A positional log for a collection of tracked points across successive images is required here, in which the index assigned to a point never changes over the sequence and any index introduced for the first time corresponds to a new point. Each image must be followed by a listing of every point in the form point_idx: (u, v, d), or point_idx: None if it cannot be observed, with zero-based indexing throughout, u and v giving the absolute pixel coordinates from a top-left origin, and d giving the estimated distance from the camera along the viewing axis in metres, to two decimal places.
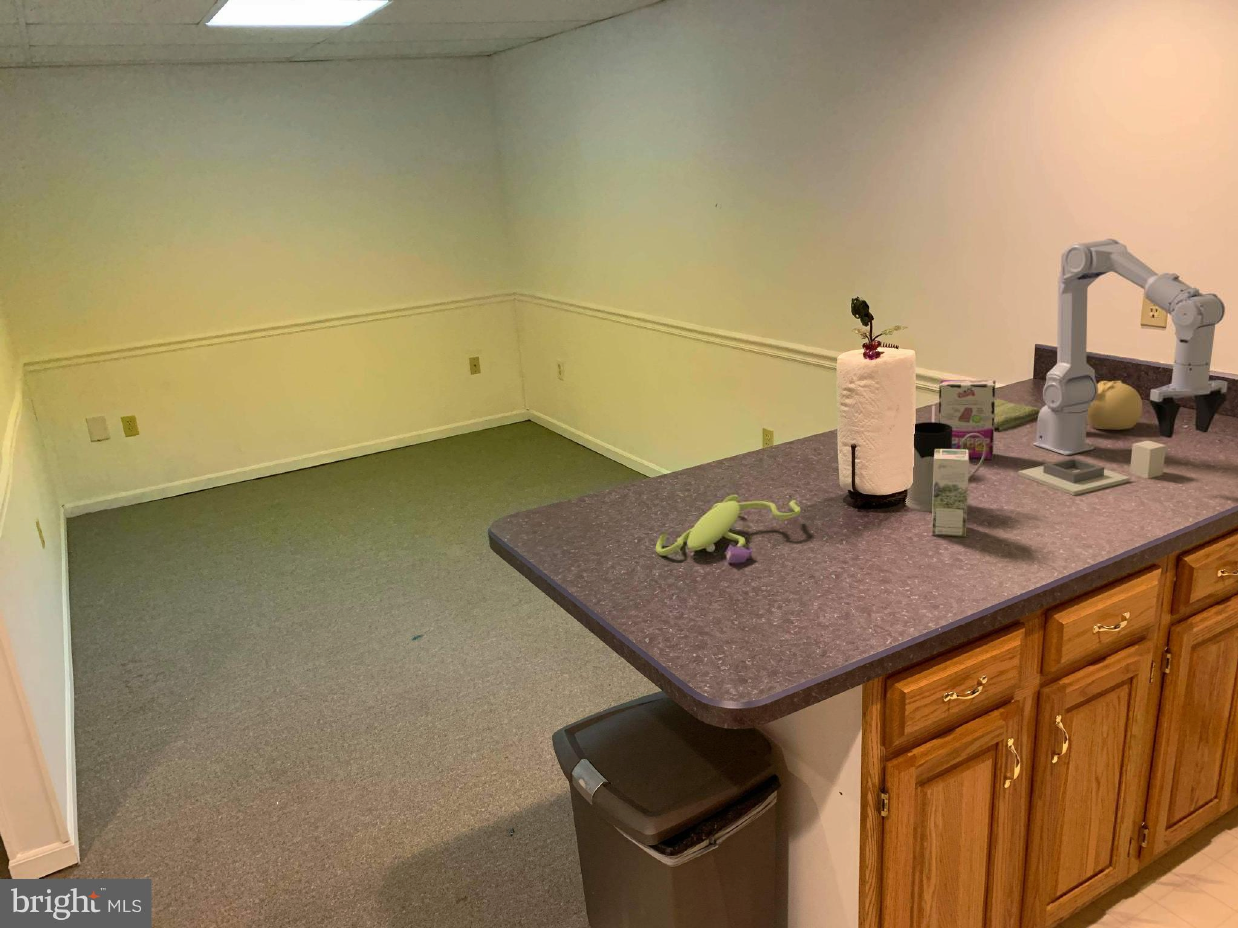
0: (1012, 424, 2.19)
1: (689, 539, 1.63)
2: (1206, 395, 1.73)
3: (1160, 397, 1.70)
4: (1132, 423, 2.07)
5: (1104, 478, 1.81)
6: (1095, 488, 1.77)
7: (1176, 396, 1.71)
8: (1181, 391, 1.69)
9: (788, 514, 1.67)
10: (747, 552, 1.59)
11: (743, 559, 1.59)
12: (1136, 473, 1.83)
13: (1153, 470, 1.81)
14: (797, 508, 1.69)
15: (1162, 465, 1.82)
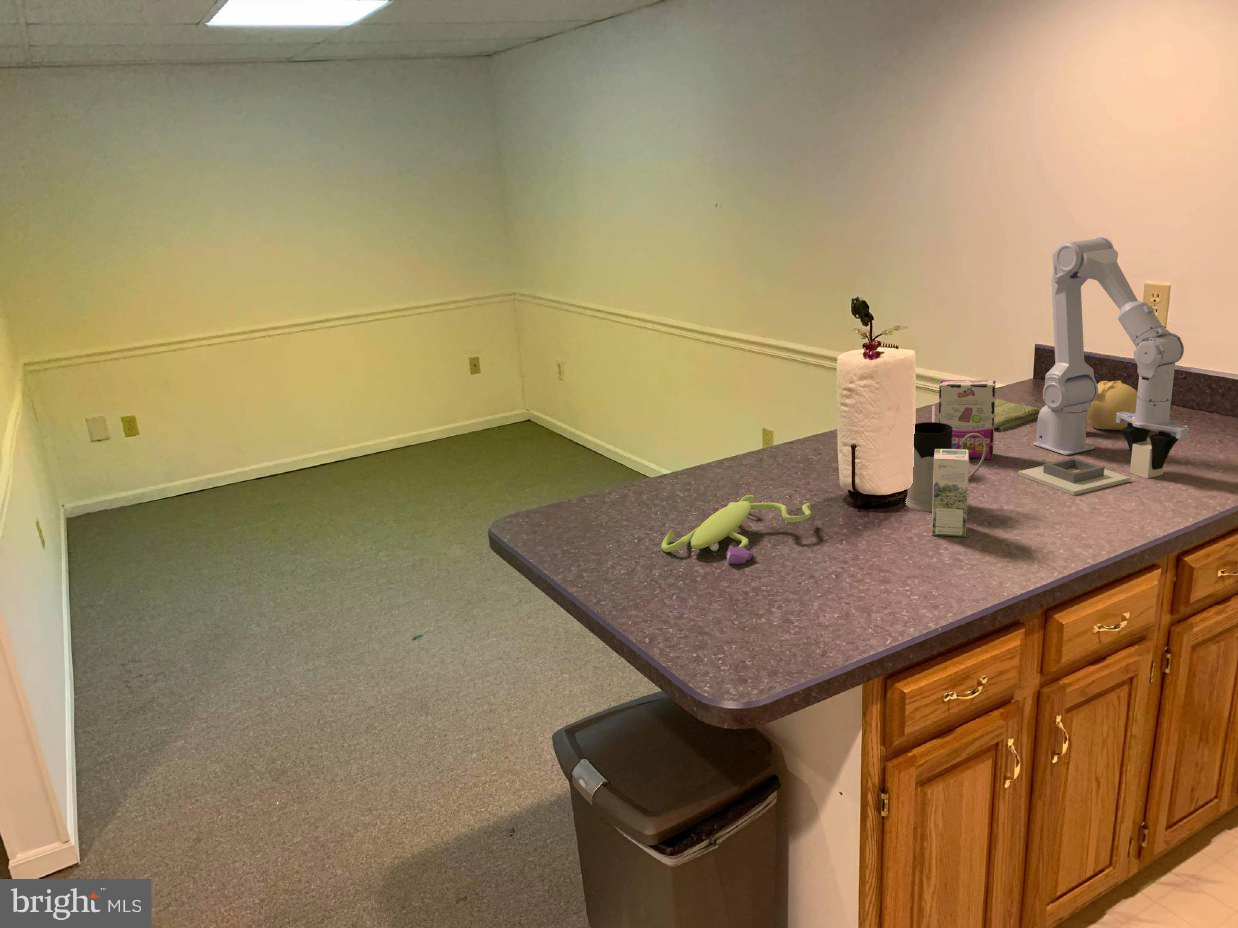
0: (1013, 424, 2.19)
1: (693, 537, 1.64)
2: None
3: (1117, 418, 1.86)
4: None
5: (1104, 478, 1.81)
6: (1095, 488, 1.77)
7: None
8: (1128, 418, 1.83)
9: (796, 517, 1.65)
10: (747, 553, 1.58)
11: (743, 560, 1.58)
12: (1136, 473, 1.83)
13: (1153, 469, 1.81)
14: (807, 511, 1.67)
15: None
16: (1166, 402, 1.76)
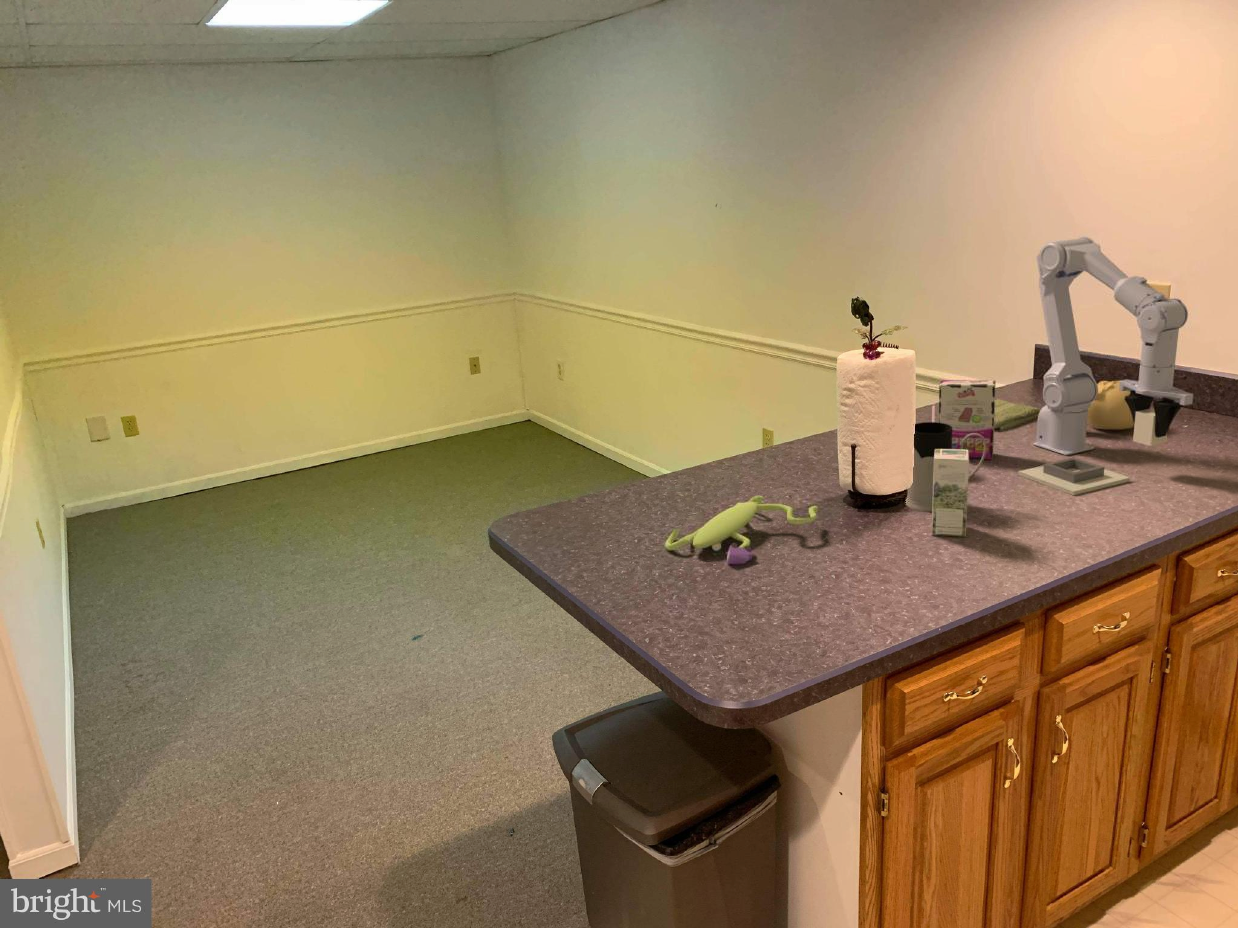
0: (1013, 424, 2.19)
1: (695, 536, 1.64)
2: None
3: (1120, 386, 1.84)
4: (1132, 423, 2.07)
5: (1104, 478, 1.81)
6: (1095, 488, 1.77)
7: None
8: (1132, 386, 1.81)
9: (801, 519, 1.64)
10: (747, 554, 1.58)
11: (742, 561, 1.58)
12: (1139, 441, 1.81)
13: (1157, 437, 1.79)
14: (813, 514, 1.66)
15: None
16: (1170, 368, 1.74)
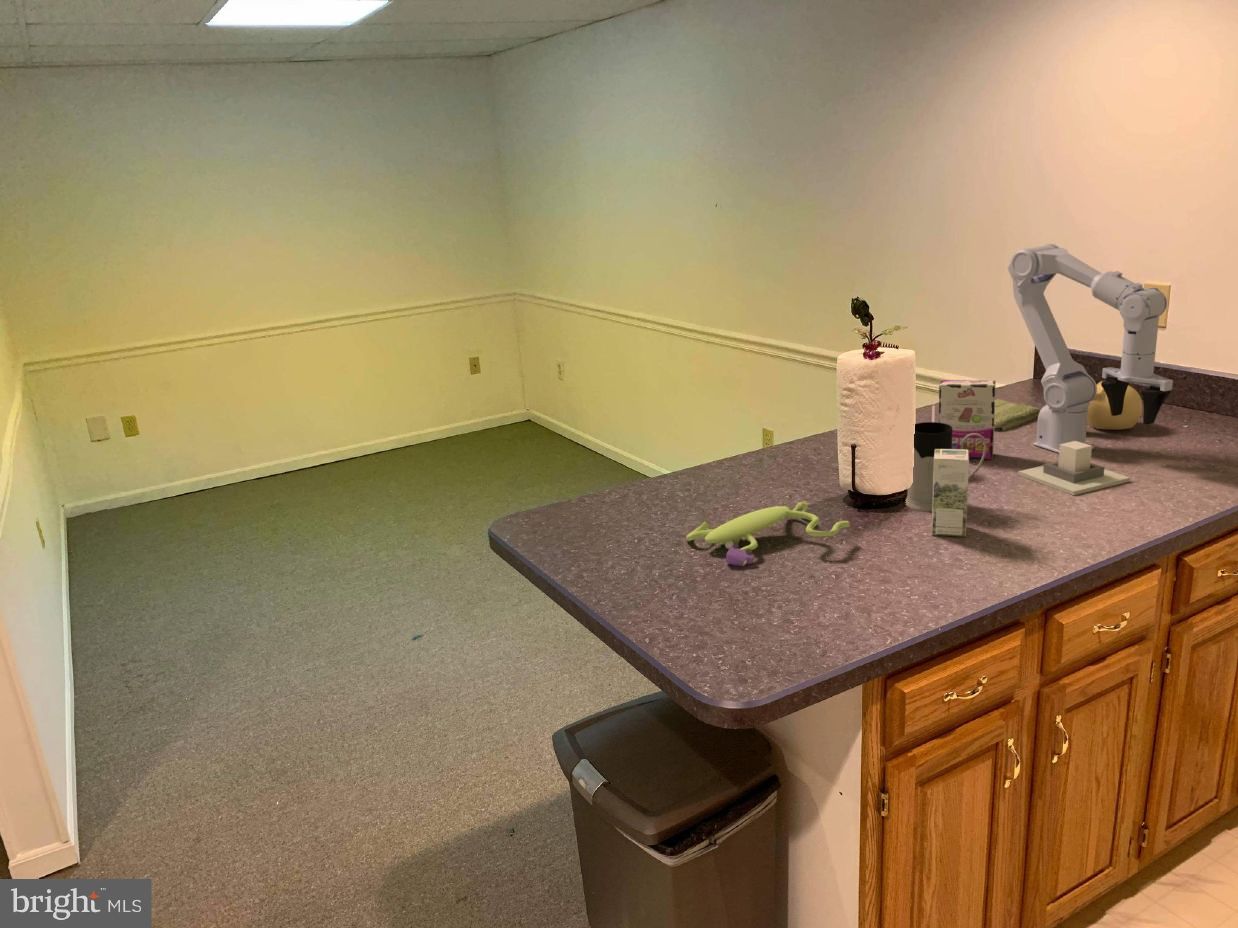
0: (1014, 424, 2.19)
1: (711, 531, 1.66)
2: None
3: (1103, 374, 1.90)
4: (1132, 423, 2.07)
5: (1104, 478, 1.81)
6: (1095, 488, 1.77)
7: None
8: (1114, 373, 1.86)
9: (816, 532, 1.58)
10: (745, 557, 1.57)
11: (739, 563, 1.57)
12: None
13: (1080, 470, 1.82)
14: (833, 528, 1.59)
15: (1089, 465, 1.82)
16: (1150, 355, 1.80)
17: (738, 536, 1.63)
